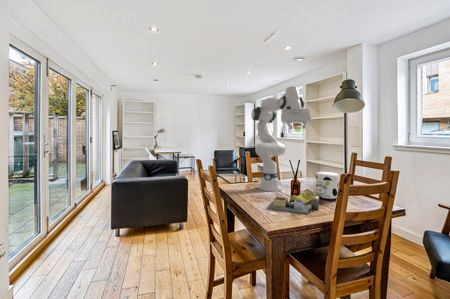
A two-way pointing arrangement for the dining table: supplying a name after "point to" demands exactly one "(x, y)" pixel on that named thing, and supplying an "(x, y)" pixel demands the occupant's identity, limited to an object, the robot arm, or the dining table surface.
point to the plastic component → (303, 196)
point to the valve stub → (315, 203)
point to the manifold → (289, 205)
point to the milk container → (326, 185)
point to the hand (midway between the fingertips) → (297, 128)
